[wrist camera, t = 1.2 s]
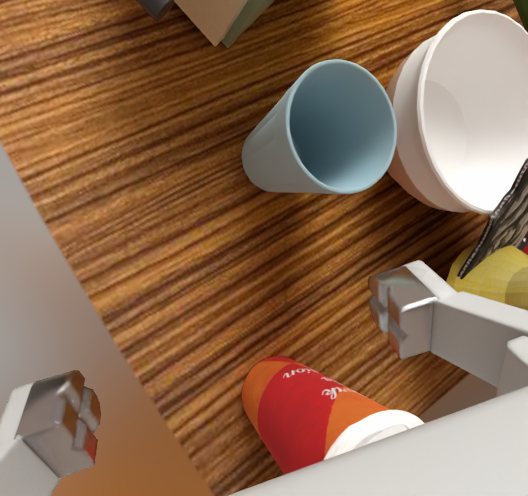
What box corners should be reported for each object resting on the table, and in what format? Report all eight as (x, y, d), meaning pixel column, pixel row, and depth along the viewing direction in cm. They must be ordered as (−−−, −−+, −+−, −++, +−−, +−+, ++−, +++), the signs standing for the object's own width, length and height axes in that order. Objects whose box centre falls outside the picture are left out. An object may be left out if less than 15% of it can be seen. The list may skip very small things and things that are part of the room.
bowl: (464, 47, 40) (546, 5, 32) (487, 199, 42) (569, 192, 34) (336, 59, 34) (402, 10, 26) (370, 235, 36) (439, 236, 28)
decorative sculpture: (411, 344, 37) (463, 319, 43) (416, 348, 37) (467, 322, 43) (530, 147, 27) (576, 149, 33) (537, 150, 27) (582, 151, 33)
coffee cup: (331, 387, 35) (482, 489, 21) (266, 458, 33) (387, 624, 19) (280, 320, 33) (412, 385, 19) (206, 391, 30) (294, 524, 16)
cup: (275, 92, 32) (350, 32, 22) (328, 165, 34) (417, 139, 24) (208, 149, 30) (259, 110, 20) (269, 223, 32) (342, 220, 22)
